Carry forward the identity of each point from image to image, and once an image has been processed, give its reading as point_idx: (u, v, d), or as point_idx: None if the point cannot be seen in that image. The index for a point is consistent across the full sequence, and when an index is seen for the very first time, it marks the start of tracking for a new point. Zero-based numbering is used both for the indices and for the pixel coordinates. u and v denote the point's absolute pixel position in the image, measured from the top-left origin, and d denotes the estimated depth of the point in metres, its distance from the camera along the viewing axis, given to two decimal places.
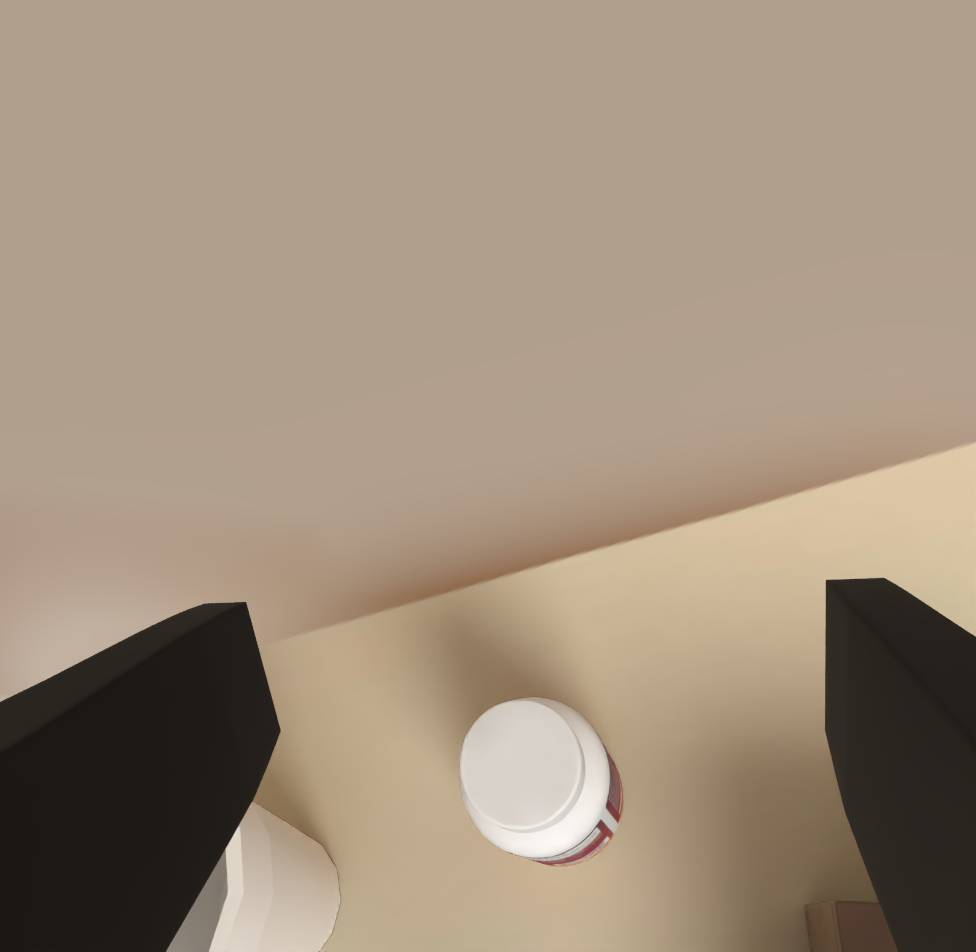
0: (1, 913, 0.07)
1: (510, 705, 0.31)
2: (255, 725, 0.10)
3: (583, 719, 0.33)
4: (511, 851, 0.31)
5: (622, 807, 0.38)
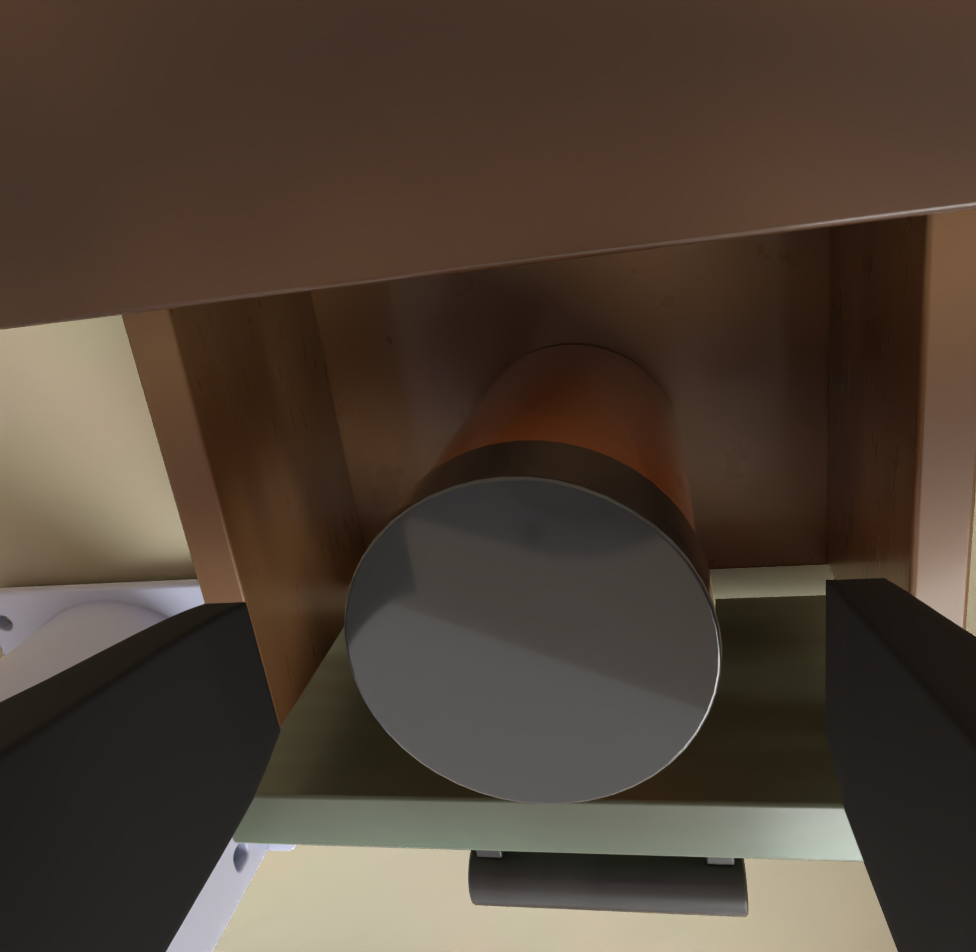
0: (1, 913, 0.07)
1: None
2: (255, 725, 0.10)
3: None
4: None
5: None
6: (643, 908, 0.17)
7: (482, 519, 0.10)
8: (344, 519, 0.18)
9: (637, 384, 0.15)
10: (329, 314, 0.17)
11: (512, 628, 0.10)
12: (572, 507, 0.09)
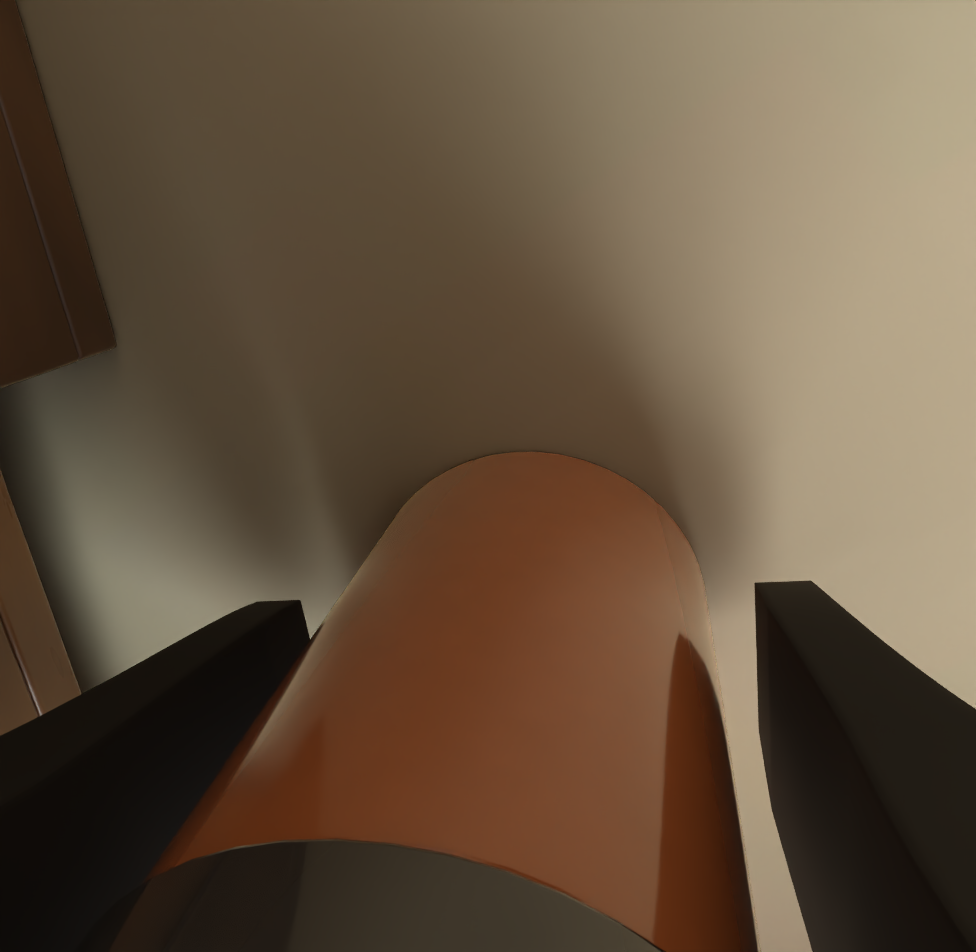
0: (81, 917, 0.06)
1: None
2: None
3: None
4: None
5: None
6: None
7: None
8: None
9: (635, 539, 0.09)
10: None
11: None
12: None
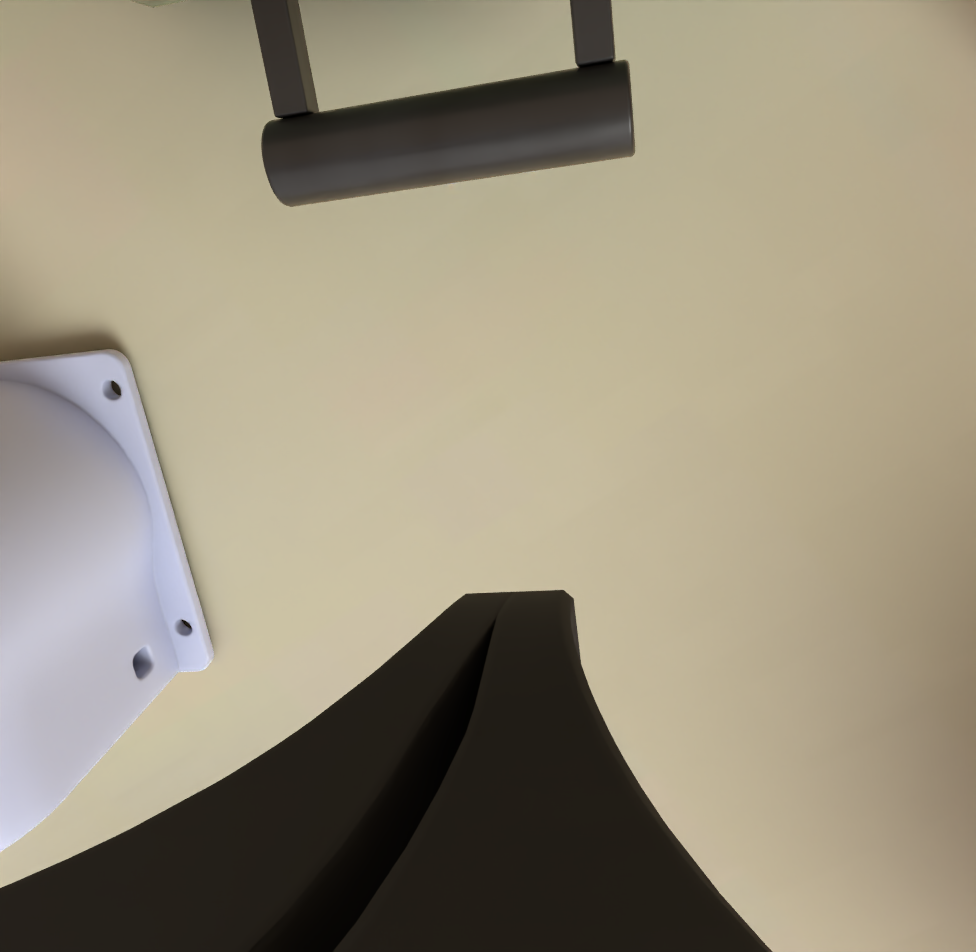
0: None
1: None
2: None
3: None
4: None
5: None
6: (493, 140, 0.13)
7: None
8: None
9: None
10: None
11: None
12: None
